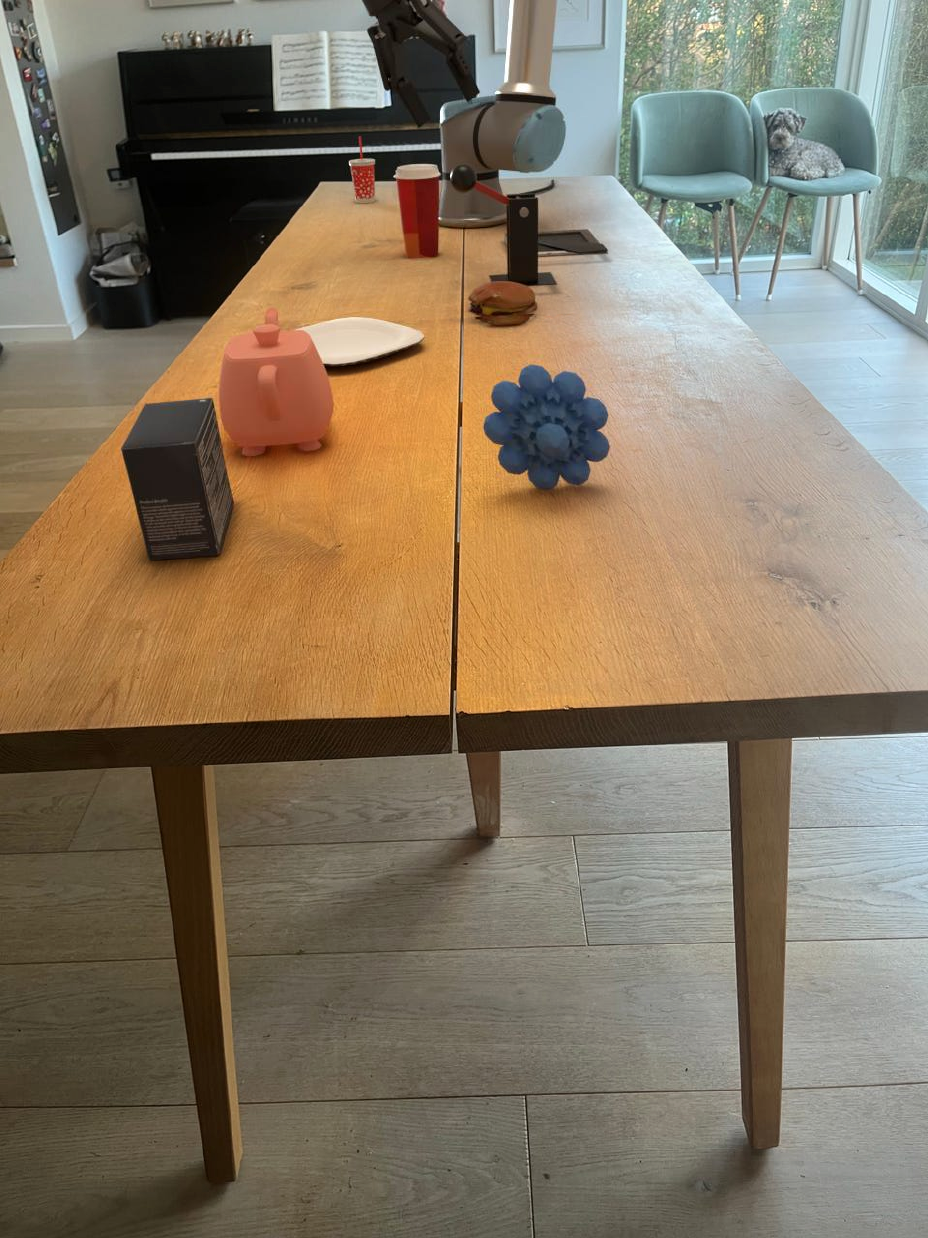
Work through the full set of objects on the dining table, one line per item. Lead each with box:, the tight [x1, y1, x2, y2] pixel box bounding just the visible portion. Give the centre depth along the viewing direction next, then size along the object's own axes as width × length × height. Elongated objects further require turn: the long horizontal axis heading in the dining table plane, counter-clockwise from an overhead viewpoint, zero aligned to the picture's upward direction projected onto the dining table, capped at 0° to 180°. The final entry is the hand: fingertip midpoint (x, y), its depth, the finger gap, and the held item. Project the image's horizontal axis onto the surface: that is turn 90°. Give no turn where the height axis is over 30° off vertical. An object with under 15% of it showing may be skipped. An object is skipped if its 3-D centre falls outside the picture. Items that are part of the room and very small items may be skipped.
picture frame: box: [504, 228, 609, 258], centre depth 180 cm, size 16×2×21 cm
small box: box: [120, 397, 235, 561], centre depth 85 cm, size 11×6×10 cm, turn 5°
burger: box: [467, 281, 538, 327], centre depth 142 cm, size 10×9×5 cm
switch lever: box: [450, 164, 520, 206], centre depth 150 cm, size 13×4×4 cm, turn 93°
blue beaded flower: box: [483, 363, 611, 491], centre depth 89 cm, size 12×7×12 cm, turn 95°
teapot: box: [218, 307, 335, 457], centre depth 104 cm, size 20×12×12 cm, turn 8°
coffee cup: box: [393, 163, 442, 260], centre depth 177 cm, size 8×8×15 cm
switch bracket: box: [488, 193, 558, 287], centre depth 154 cm, size 10×8×14 cm
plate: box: [295, 316, 426, 367], centre depth 132 cm, size 18×18×2 cm
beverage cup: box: [348, 135, 376, 204], centre depth 231 cm, size 6×6×14 cm
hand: (448, 110), depth 162 cm, fingers open, 13 cm apart
